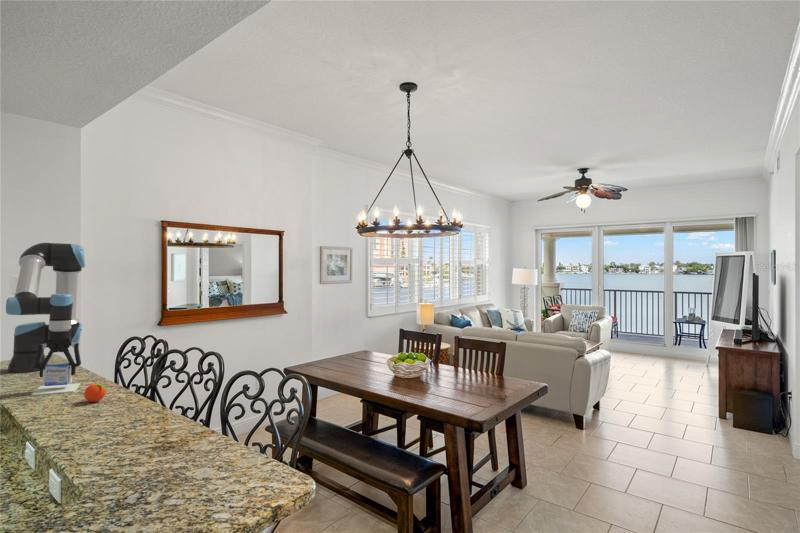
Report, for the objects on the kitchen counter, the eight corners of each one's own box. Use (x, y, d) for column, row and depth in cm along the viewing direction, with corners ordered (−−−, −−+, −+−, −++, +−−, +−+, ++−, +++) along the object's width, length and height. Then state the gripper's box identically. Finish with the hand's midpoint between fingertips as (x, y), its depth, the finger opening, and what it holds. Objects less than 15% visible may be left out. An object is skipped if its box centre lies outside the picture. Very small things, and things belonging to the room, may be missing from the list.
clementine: (112, 399, 170) (113, 381, 170) (98, 404, 163) (99, 386, 163) (93, 398, 171) (94, 380, 171) (79, 403, 164) (79, 385, 164)
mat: (40, 387, 184) (40, 385, 184) (80, 384, 190) (80, 383, 190) (30, 395, 171) (30, 394, 171) (73, 392, 178) (74, 391, 178)
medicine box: (43, 386, 177) (44, 365, 177) (47, 383, 181) (48, 363, 181) (67, 384, 181) (68, 364, 181) (70, 382, 185) (71, 362, 185)
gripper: (91, 328, 190) (88, 379, 189) (31, 329, 180) (28, 383, 179) (88, 330, 183) (85, 383, 182) (25, 332, 173) (22, 388, 173)
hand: (57, 383), depth 181 cm, fingers closed on medicine box, 8 cm apart
